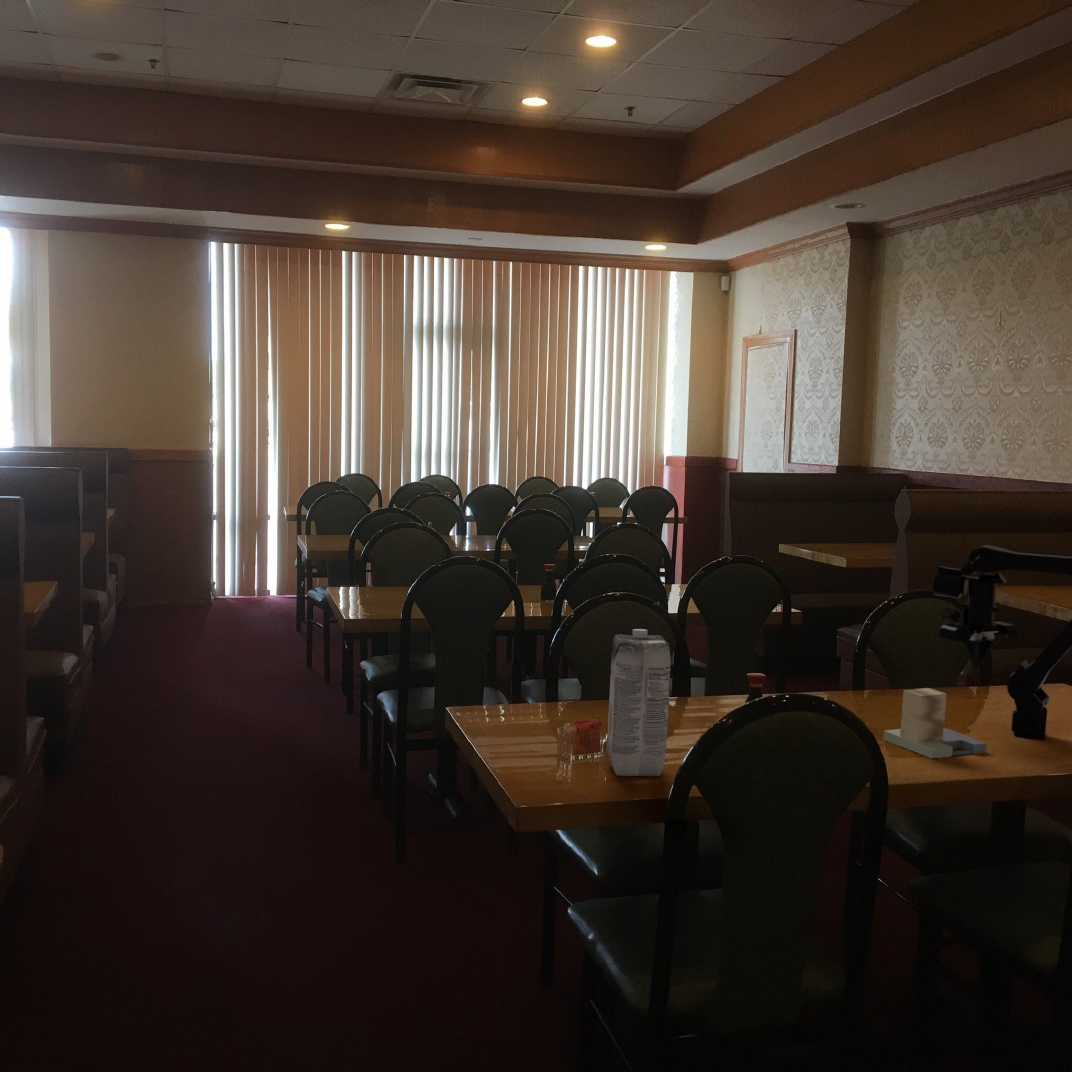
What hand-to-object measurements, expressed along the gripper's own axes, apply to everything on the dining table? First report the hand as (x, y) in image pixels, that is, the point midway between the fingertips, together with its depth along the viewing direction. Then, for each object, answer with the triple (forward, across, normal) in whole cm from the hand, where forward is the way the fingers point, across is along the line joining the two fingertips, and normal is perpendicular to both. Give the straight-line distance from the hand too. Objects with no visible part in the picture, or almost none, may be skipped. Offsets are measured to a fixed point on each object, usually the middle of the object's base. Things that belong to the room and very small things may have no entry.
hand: (975, 668), depth 248 cm
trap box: (+13, +22, +11) cm, 27 cm away
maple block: (+11, +25, +11) cm, 30 cm away
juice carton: (+13, +91, +5) cm, 92 cm away
